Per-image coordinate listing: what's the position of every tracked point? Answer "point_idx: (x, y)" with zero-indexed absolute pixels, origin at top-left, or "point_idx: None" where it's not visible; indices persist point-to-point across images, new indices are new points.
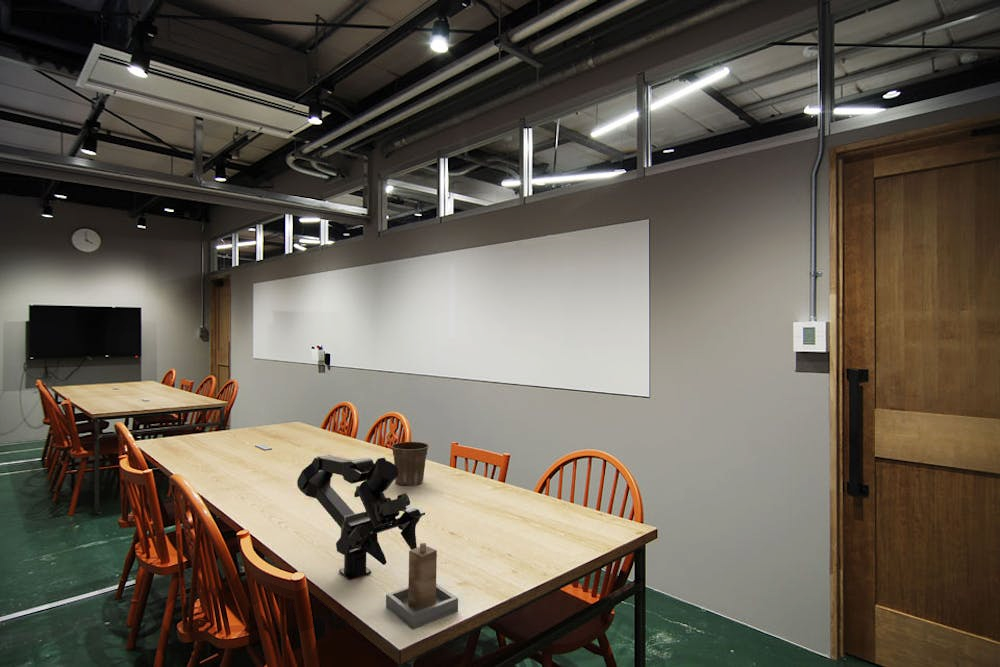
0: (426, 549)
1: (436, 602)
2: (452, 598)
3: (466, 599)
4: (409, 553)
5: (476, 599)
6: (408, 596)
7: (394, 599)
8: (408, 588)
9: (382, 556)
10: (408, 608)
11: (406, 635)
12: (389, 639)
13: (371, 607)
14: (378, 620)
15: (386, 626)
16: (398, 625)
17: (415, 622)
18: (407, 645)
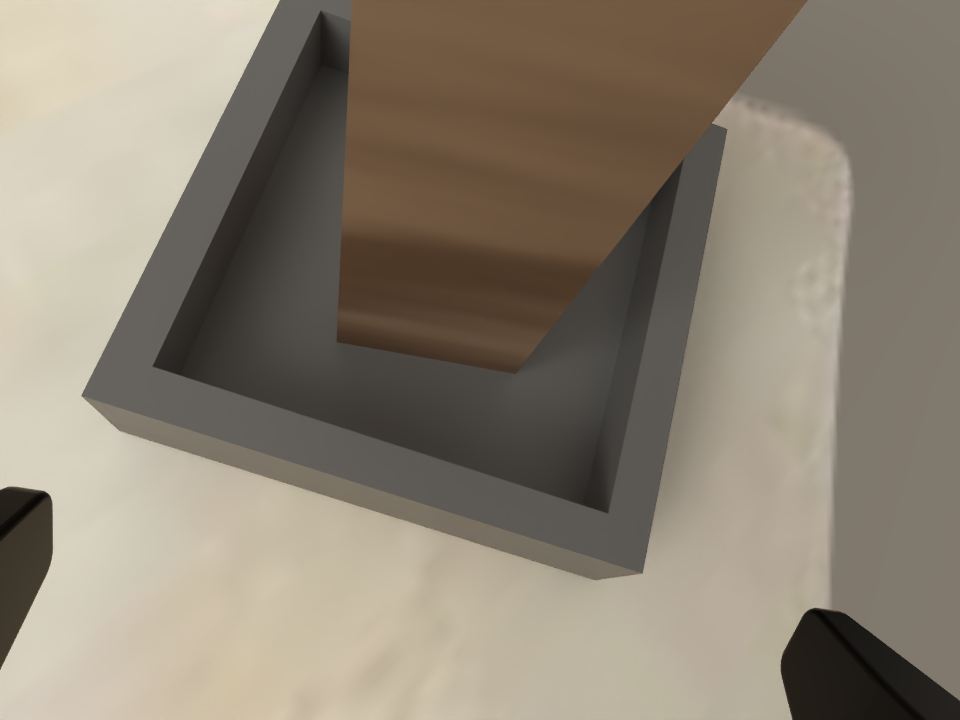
0: None
1: (337, 197)
2: (330, 2)
3: (91, 74)
4: (780, 23)
5: (48, 9)
6: (536, 344)
7: (660, 418)
8: (558, 318)
9: (946, 698)
10: (681, 215)
11: (743, 186)
12: (841, 248)
13: (679, 694)
14: (761, 475)
15: (768, 365)
16: (704, 302)
17: None
18: (802, 123)
